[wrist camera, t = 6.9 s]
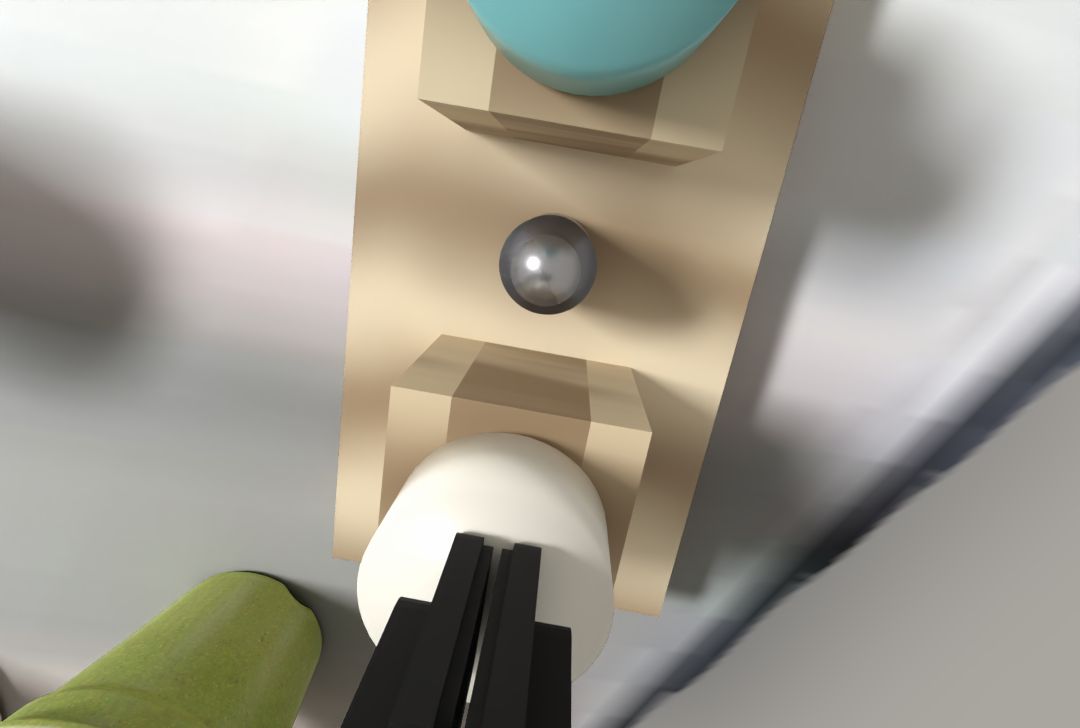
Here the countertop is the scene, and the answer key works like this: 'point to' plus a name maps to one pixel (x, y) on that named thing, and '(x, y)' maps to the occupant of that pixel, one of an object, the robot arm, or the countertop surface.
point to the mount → (620, 246)
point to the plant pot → (197, 665)
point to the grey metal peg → (548, 264)
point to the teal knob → (598, 39)
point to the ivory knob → (497, 535)
